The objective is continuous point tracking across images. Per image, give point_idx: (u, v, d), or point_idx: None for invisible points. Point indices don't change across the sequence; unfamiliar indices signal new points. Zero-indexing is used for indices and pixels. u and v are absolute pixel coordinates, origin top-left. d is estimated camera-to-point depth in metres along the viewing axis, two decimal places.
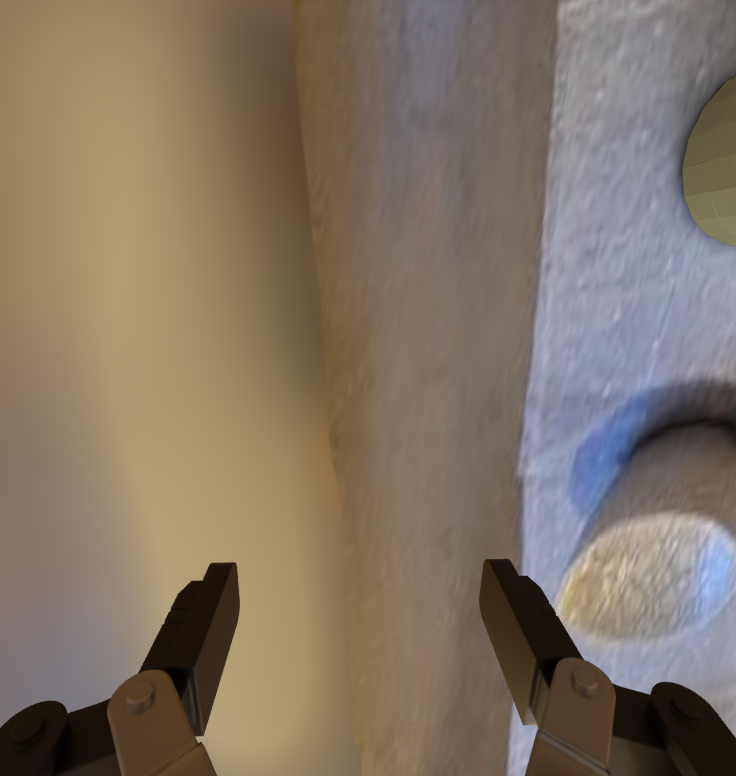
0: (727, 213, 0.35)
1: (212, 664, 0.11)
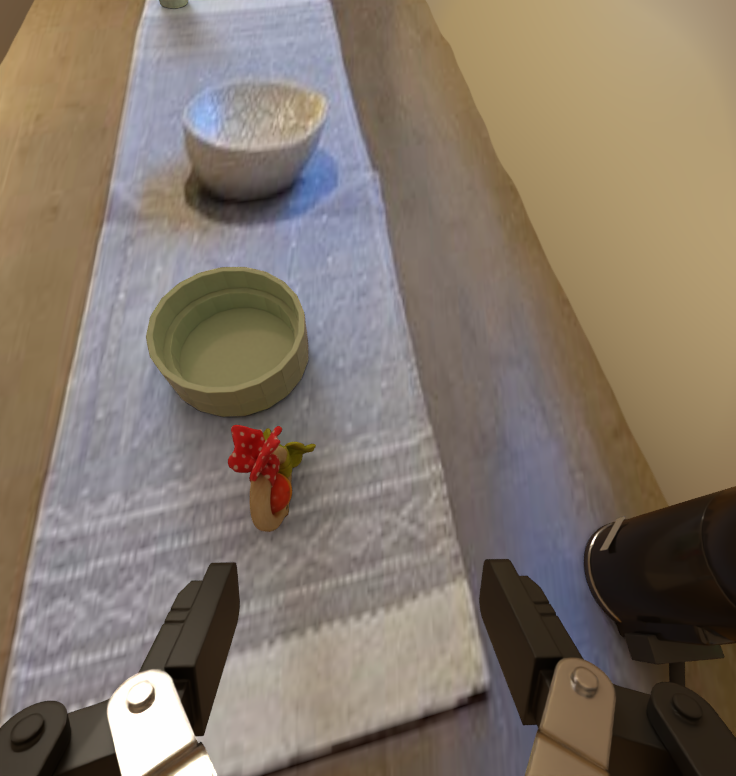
0: None
1: (212, 665, 0.11)
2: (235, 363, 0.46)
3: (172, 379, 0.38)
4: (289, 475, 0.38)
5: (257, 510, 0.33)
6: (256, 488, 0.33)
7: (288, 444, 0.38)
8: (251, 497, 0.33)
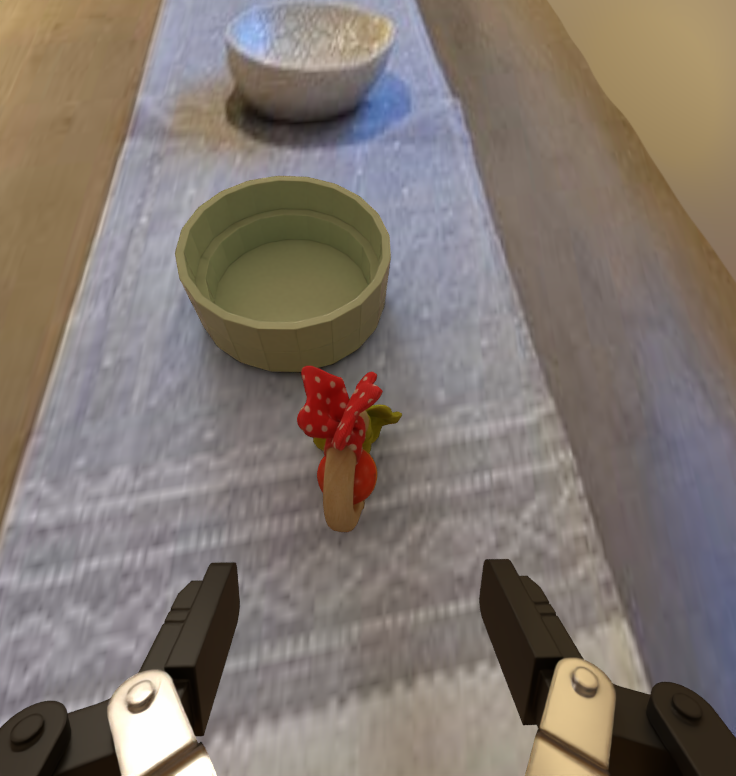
0: None
1: (212, 664, 0.11)
2: (288, 305, 0.34)
3: (209, 308, 0.27)
4: (368, 453, 0.27)
5: (335, 498, 0.21)
6: (336, 464, 0.21)
7: (370, 408, 0.26)
8: (328, 478, 0.21)
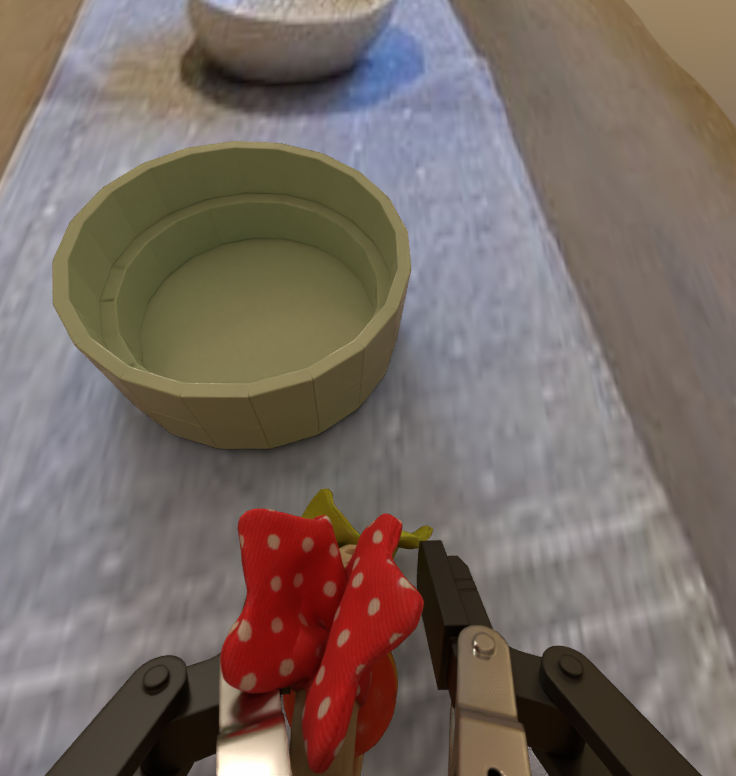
0: None
1: None
2: (252, 338, 0.23)
3: (98, 359, 0.15)
4: None
5: None
6: None
7: None
8: (297, 766, 0.09)
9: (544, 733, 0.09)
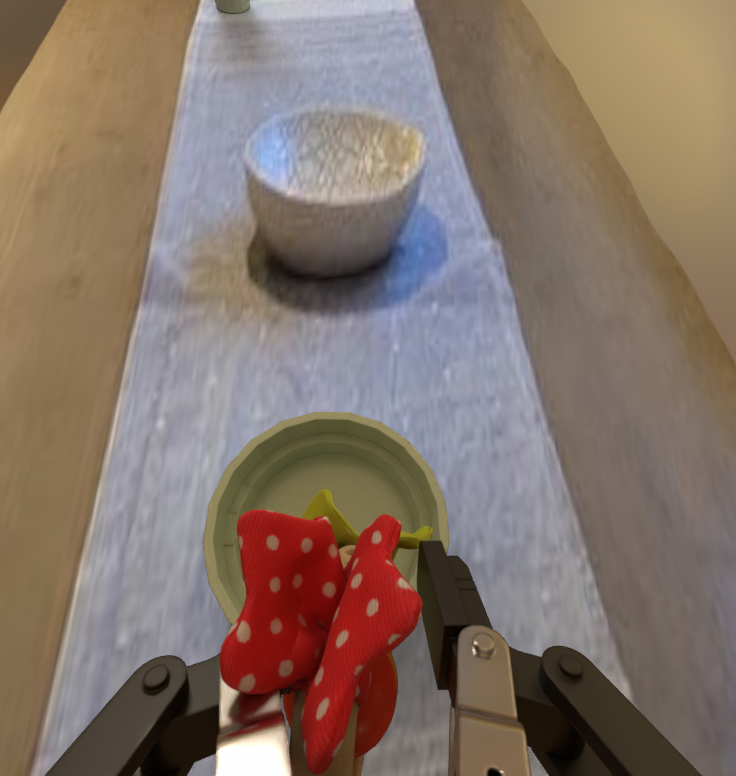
0: None
1: None
2: None
3: None
4: None
5: None
6: None
7: None
8: (297, 767, 0.09)
9: (544, 733, 0.09)
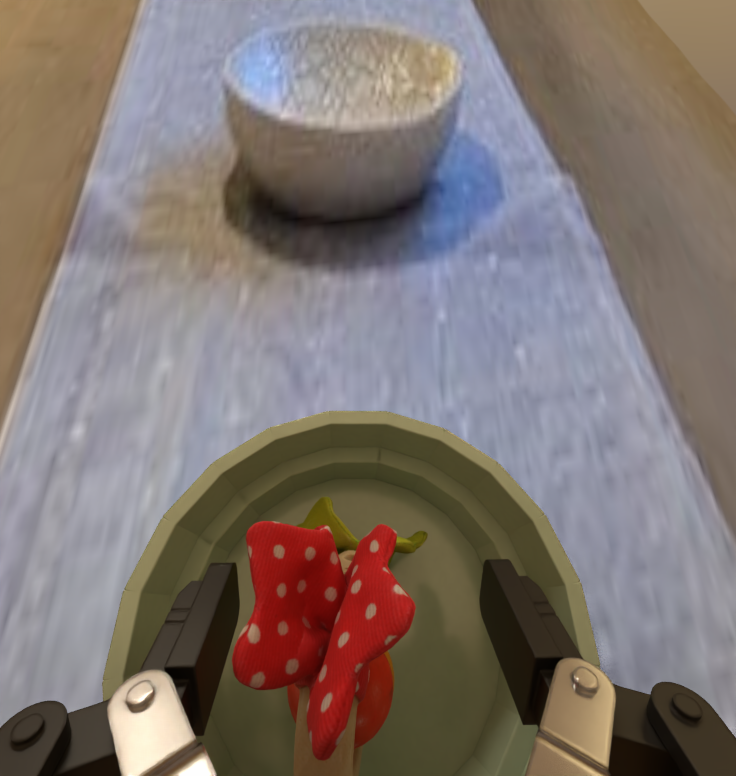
0: None
1: (212, 664, 0.11)
2: None
3: None
4: None
5: None
6: None
7: None
8: (302, 756, 0.10)
9: None
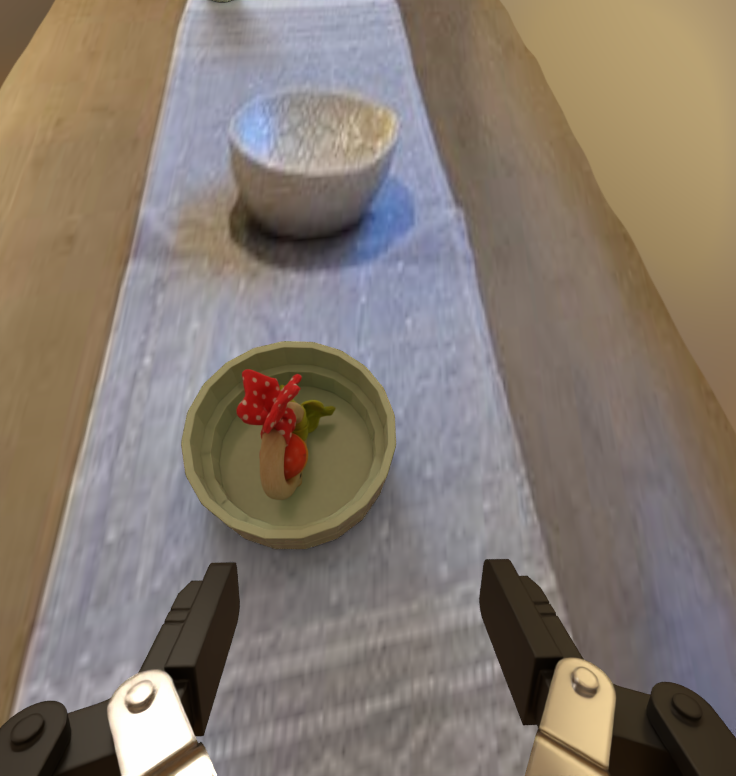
0: None
1: (212, 664, 0.11)
2: None
3: (216, 513, 0.27)
4: (305, 439, 0.33)
5: (268, 471, 0.27)
6: (268, 445, 0.27)
7: (305, 402, 0.33)
8: (262, 456, 0.27)
9: None
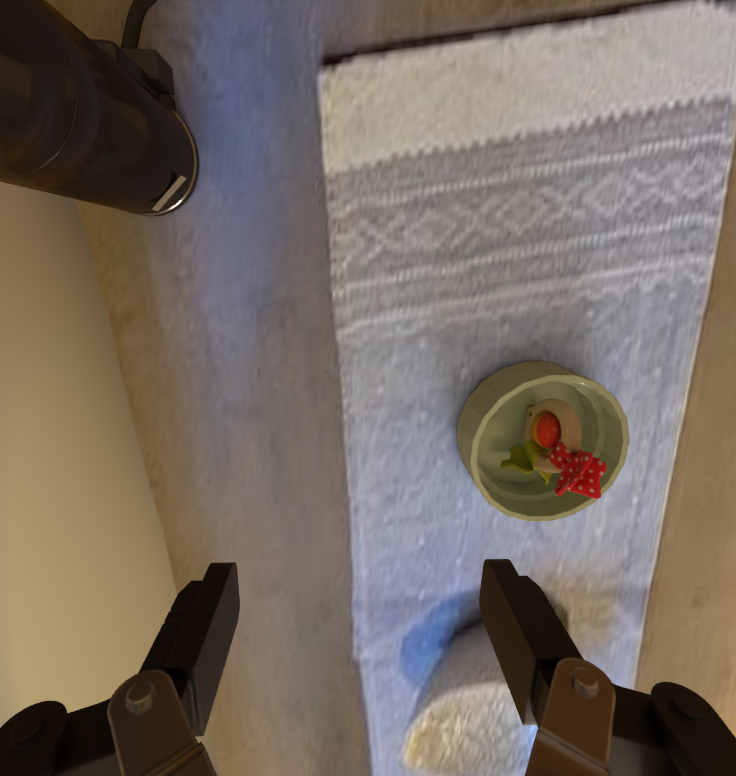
0: None
1: (212, 665, 0.11)
2: None
3: (607, 391, 0.38)
4: (528, 442, 0.43)
5: (574, 421, 0.37)
6: (577, 441, 0.37)
7: (532, 471, 0.42)
8: (580, 433, 0.37)
9: None
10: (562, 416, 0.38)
